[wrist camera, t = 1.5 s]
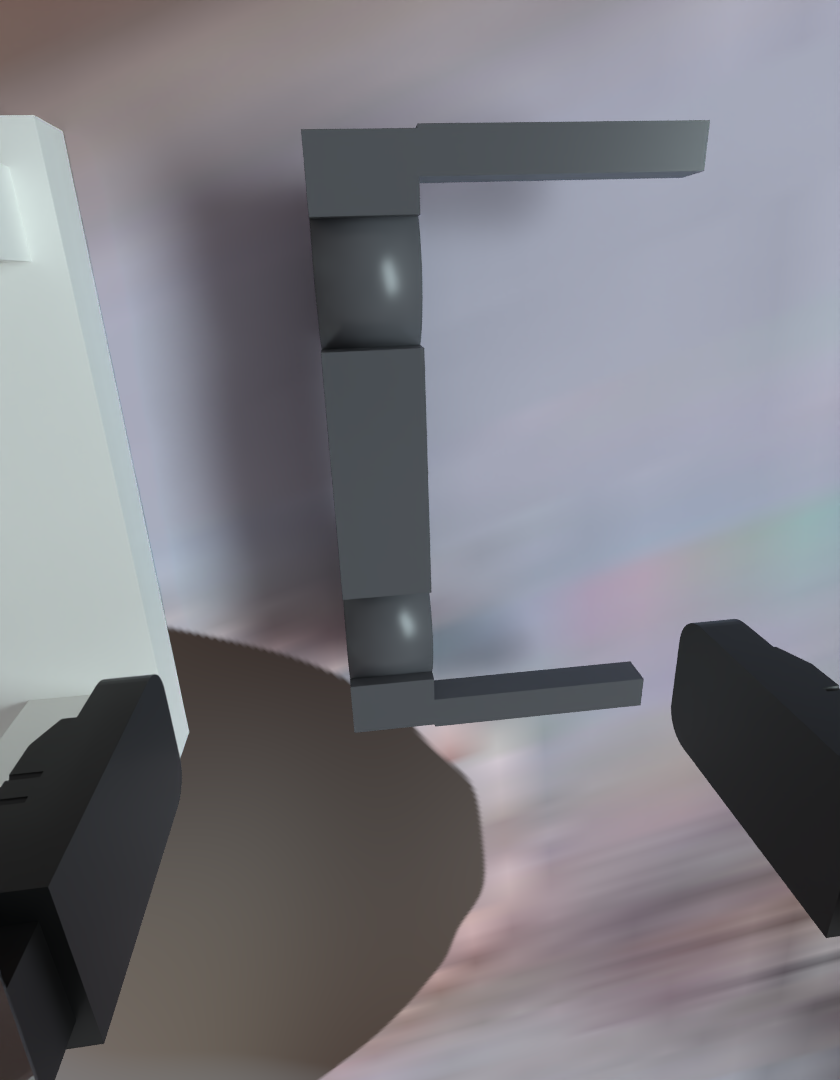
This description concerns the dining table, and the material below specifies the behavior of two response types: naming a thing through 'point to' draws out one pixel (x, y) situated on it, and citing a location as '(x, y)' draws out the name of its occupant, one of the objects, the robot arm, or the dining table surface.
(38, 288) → the display stand
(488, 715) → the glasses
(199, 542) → the dining table surface
